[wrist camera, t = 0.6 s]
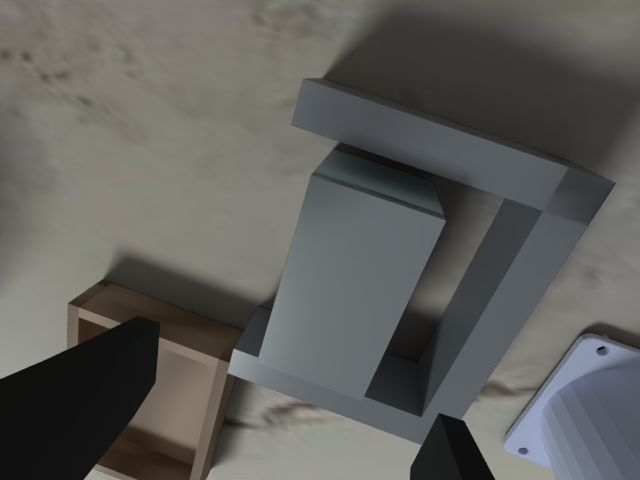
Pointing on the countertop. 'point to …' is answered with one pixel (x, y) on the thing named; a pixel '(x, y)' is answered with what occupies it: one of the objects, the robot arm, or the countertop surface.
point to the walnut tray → (164, 385)
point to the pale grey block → (350, 272)
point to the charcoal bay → (482, 274)
